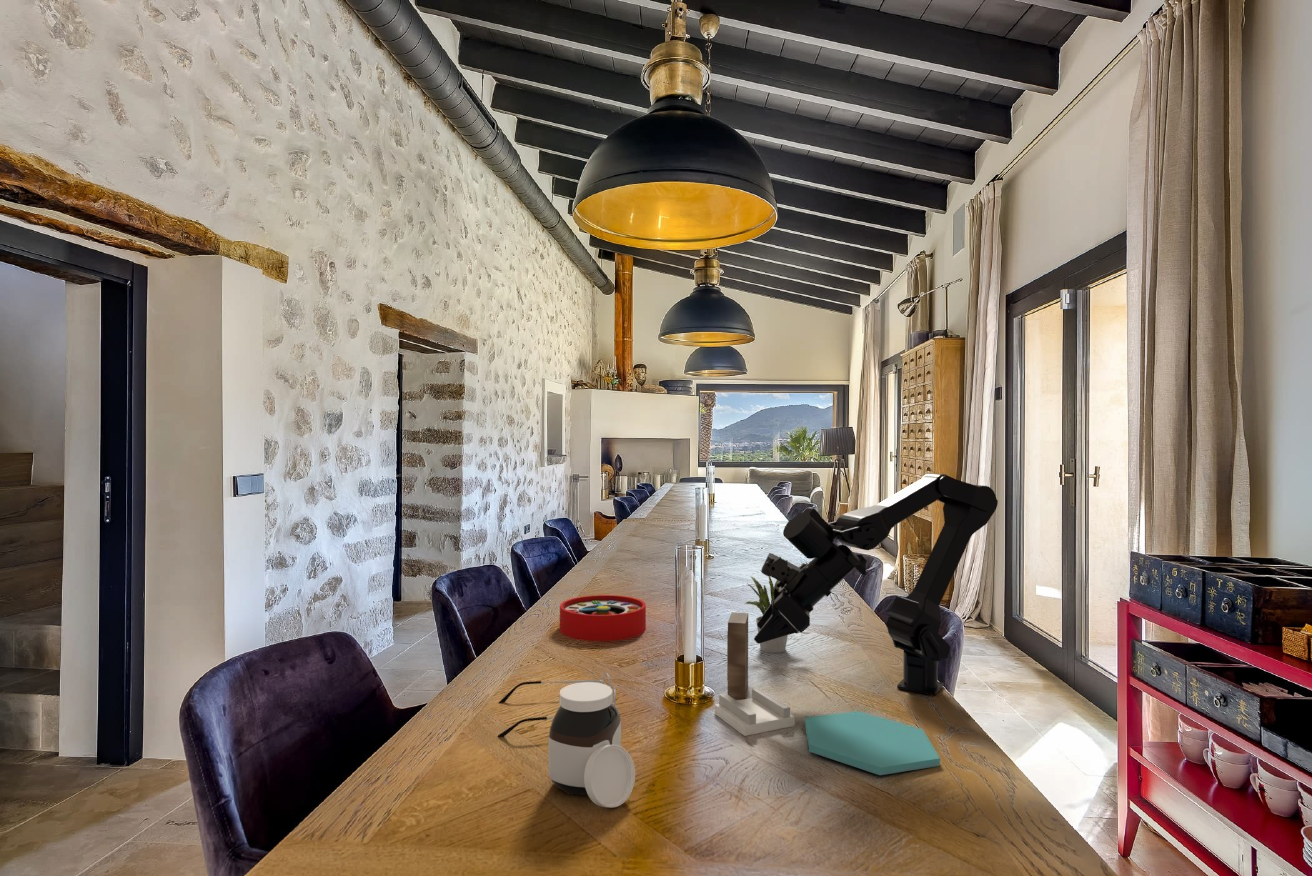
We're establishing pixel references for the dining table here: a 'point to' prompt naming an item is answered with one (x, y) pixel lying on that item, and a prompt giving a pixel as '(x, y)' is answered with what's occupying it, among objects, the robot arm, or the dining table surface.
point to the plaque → (870, 742)
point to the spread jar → (590, 746)
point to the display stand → (754, 713)
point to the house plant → (774, 644)
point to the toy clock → (602, 618)
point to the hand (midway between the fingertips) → (757, 633)
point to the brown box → (737, 655)
